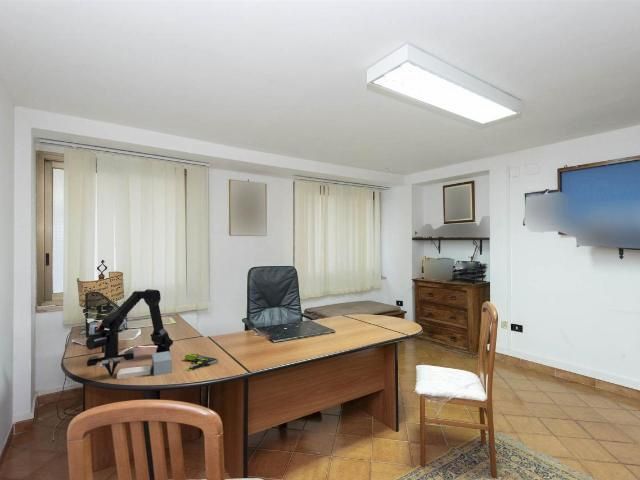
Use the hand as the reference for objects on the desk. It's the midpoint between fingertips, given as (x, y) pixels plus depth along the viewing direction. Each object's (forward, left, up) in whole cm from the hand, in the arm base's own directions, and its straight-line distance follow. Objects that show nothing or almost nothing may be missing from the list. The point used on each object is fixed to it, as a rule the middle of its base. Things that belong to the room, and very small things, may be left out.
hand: (111, 375), depth 158 cm
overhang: (-22, 0, -1) cm, 22 cm away
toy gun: (-38, +3, -2) cm, 38 cm away
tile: (-10, 0, -1) cm, 10 cm away
